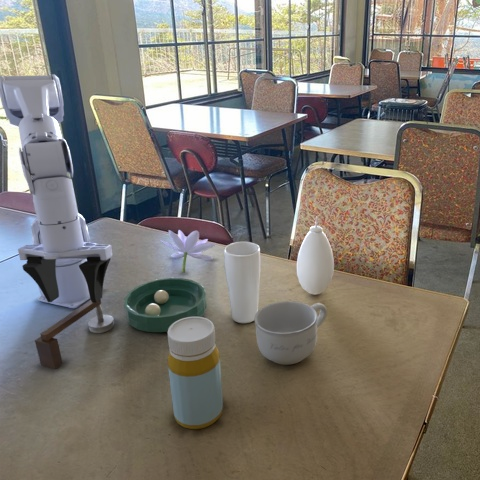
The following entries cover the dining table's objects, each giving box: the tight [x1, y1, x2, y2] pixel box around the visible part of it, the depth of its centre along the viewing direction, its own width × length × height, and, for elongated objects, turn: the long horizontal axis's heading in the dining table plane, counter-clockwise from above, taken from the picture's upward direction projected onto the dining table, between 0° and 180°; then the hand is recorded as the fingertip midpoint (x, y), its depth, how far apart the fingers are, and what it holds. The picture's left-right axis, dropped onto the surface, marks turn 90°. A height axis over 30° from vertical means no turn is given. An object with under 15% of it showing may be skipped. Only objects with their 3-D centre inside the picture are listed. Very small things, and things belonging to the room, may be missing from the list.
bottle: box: [167, 316, 224, 430], centre depth 68 cm, size 7×7×15 cm
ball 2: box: [154, 290, 169, 304], centre depth 97 cm, size 3×3×3 cm
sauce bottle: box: [296, 215, 335, 296], centre depth 101 cm, size 8×8×18 cm
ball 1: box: [145, 304, 161, 316], centre depth 92 cm, size 3×3×3 cm
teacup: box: [253, 300, 328, 366], centre depth 84 cm, size 14×11×8 cm
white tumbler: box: [223, 241, 262, 324], centre depth 92 cm, size 7×7×15 cm
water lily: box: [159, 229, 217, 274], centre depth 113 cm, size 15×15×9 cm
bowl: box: [123, 277, 208, 333], centre depth 95 cm, size 15×15×4 cm
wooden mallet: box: [34, 298, 115, 370], centre depth 85 cm, size 15×4×6 cm, turn 163°
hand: (75, 299), depth 79 cm, fingers open, 7 cm apart
